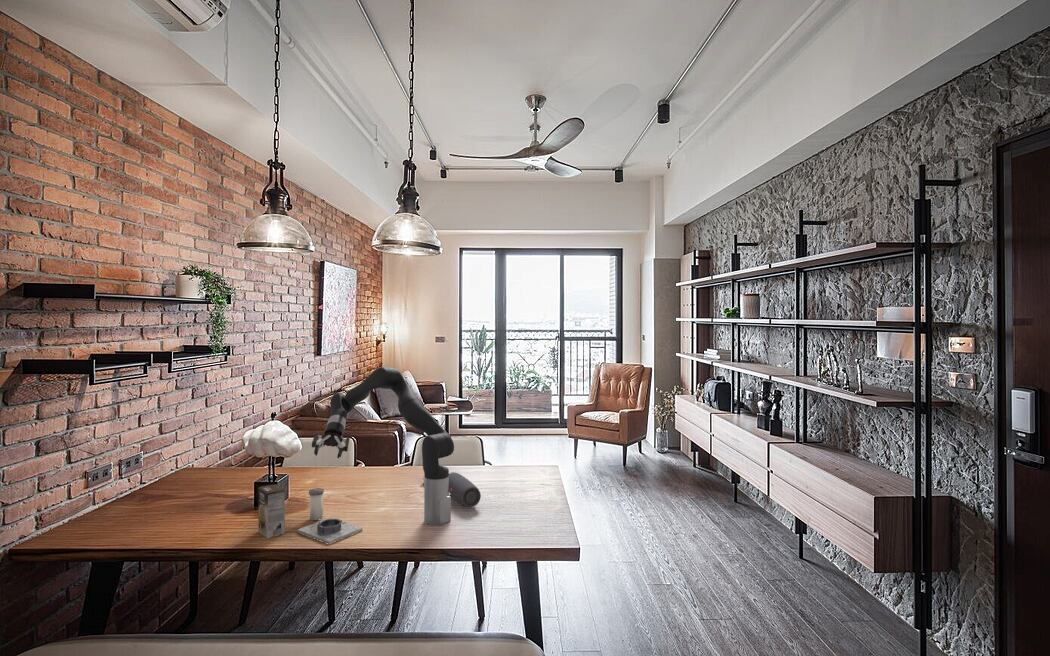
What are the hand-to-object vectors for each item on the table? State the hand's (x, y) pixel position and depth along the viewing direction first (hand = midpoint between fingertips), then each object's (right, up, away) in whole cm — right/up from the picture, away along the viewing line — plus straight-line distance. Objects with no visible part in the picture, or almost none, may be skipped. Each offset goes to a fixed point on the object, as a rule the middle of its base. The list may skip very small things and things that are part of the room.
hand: (327, 455), depth 211 cm
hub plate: (+9, -22, -22) cm, 33 cm away
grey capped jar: (-1, -22, -9) cm, 24 cm away
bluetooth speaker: (+53, -22, +11) cm, 58 cm away
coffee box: (-12, -22, -22) cm, 34 cm away
